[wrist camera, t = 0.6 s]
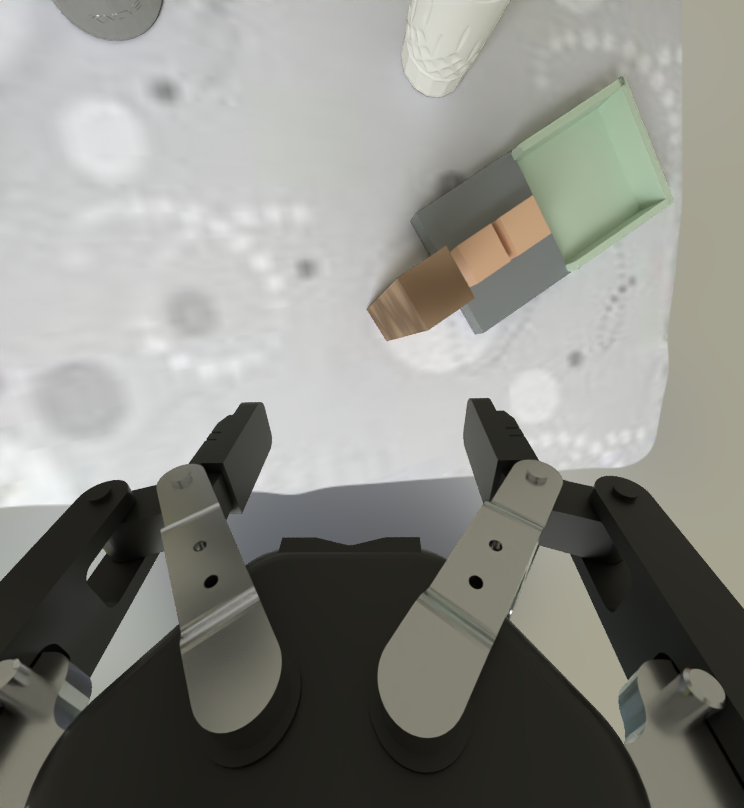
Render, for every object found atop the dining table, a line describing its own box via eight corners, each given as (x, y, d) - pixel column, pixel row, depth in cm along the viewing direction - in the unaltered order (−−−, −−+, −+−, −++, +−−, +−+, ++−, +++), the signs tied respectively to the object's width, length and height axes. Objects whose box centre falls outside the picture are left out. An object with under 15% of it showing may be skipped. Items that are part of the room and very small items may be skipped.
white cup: (403, 3, 32) (440, -151, 23) (477, 32, 34) (542, -101, 24) (388, 90, 33) (417, -23, 23) (461, 115, 35) (517, 19, 25)
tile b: (484, 229, 34) (499, 217, 32) (514, 208, 35) (532, 194, 32) (502, 264, 35) (519, 255, 32) (532, 243, 36) (551, 233, 33)
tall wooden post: (366, 309, 36) (397, 278, 22) (397, 289, 36) (446, 245, 22) (386, 341, 36) (428, 330, 23) (416, 320, 37) (475, 297, 23)
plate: (410, 221, 35) (415, 213, 33) (500, 161, 36) (511, 150, 34) (474, 334, 38) (483, 333, 36) (557, 276, 39) (570, 272, 37)
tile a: (445, 255, 34) (457, 246, 31) (476, 234, 34) (491, 223, 31) (464, 289, 35) (477, 283, 32) (494, 269, 35) (510, 261, 32)
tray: (500, 164, 36) (519, 143, 32) (595, 101, 37) (624, 74, 33) (555, 276, 39) (578, 268, 35) (643, 215, 39) (674, 201, 36)
